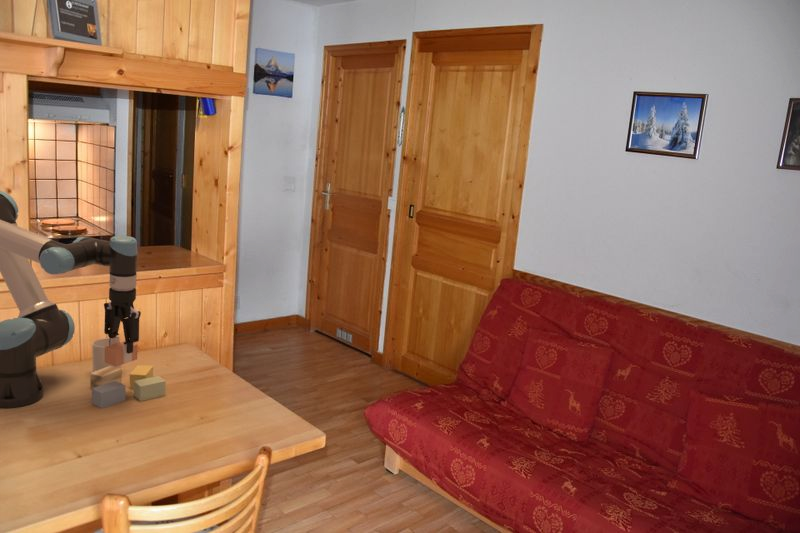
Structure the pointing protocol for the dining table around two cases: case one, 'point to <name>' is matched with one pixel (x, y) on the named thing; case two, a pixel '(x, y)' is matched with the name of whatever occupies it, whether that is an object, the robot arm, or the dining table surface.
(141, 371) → the mustard brick
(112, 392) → the slate brick
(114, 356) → the terracotta brick
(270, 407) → the dining table surface
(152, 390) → the sage brick
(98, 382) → the birch brick
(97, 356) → the mug
